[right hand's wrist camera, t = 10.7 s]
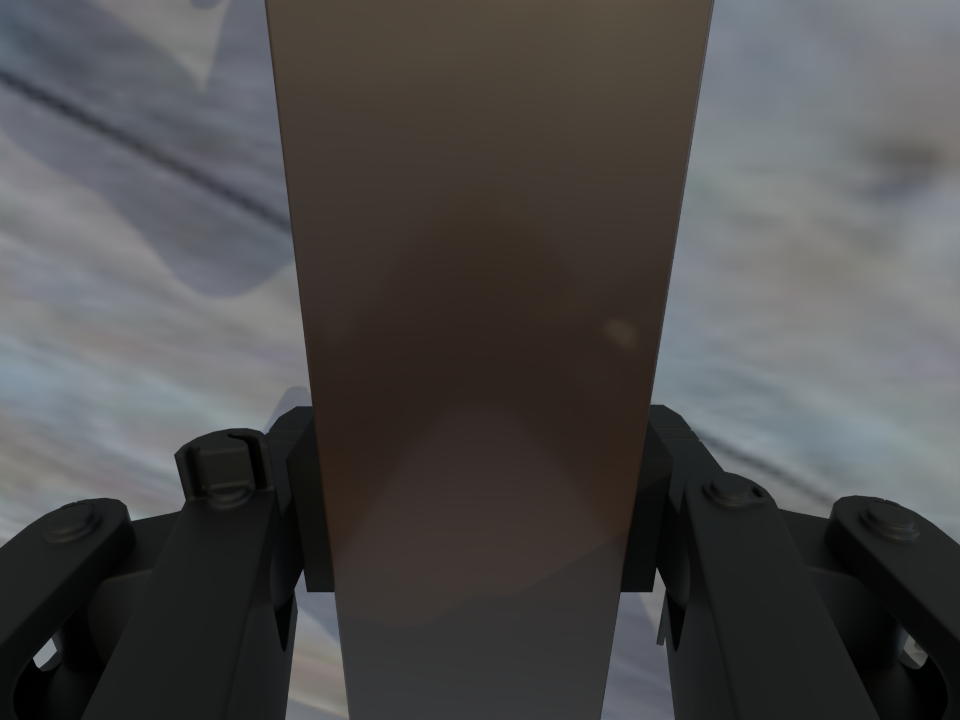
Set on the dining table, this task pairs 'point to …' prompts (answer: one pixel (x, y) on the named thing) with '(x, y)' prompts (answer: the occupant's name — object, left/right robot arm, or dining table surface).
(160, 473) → the dining table surface
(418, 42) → the walnut beam
